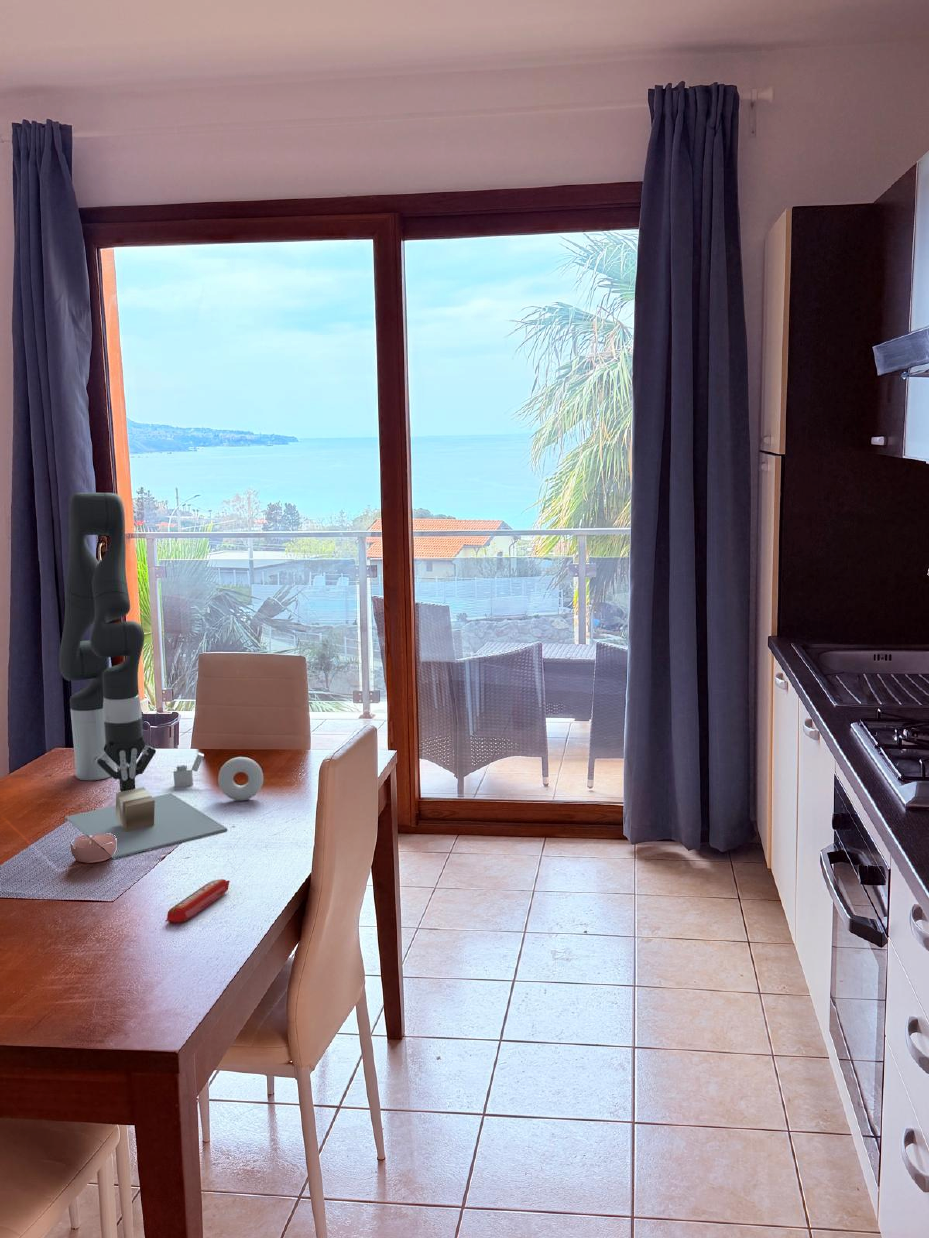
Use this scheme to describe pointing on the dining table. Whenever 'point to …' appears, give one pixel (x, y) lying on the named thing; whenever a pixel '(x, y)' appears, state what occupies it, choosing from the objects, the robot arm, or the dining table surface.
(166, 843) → the mat
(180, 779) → the lighter
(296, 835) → the dining table surface
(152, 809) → the block
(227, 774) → the donut
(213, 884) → the packaged sausage
